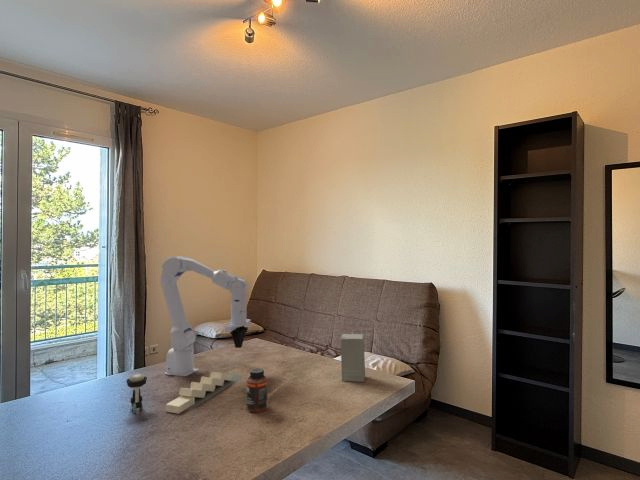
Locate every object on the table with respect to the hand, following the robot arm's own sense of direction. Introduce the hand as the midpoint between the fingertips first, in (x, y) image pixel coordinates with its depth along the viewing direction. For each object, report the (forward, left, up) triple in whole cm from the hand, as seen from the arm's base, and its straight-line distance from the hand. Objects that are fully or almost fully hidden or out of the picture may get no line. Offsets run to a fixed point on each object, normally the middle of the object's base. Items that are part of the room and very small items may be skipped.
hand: (238, 347), depth 137 cm
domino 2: (0, -23, -8) cm, 25 cm away
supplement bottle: (+21, -24, -10) cm, 33 cm away
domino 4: (0, -13, -8) cm, 16 cm away
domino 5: (0, -8, -8) cm, 12 cm away
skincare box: (+42, +9, -10) cm, 44 cm away
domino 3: (0, -18, -8) cm, 20 cm away
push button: (-11, -37, -10) cm, 40 cm away
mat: (0, -17, -10) cm, 20 cm away
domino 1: (0, -28, -8) cm, 29 cm away
